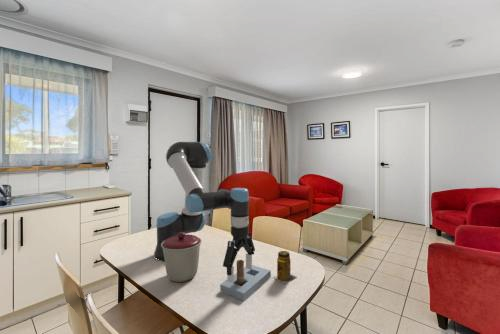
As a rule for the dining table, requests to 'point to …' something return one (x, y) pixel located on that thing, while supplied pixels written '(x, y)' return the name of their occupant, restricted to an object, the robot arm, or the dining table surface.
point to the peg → (240, 272)
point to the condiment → (284, 267)
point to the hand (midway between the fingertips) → (240, 275)
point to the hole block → (246, 282)
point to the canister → (181, 256)
